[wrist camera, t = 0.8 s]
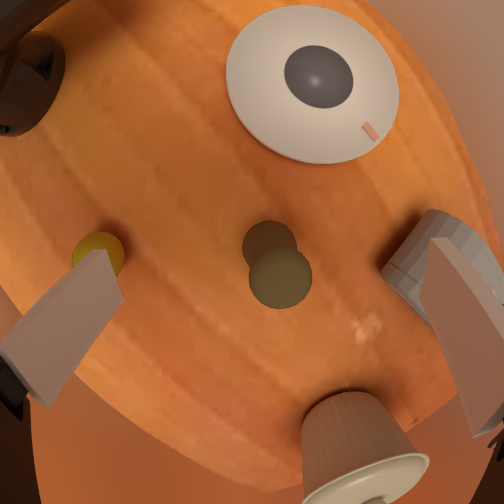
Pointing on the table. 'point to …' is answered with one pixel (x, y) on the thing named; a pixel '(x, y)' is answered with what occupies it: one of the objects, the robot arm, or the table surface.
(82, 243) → the lemon
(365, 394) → the canister
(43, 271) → the table surface
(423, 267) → the alarm clock
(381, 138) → the turntable
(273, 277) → the cork
